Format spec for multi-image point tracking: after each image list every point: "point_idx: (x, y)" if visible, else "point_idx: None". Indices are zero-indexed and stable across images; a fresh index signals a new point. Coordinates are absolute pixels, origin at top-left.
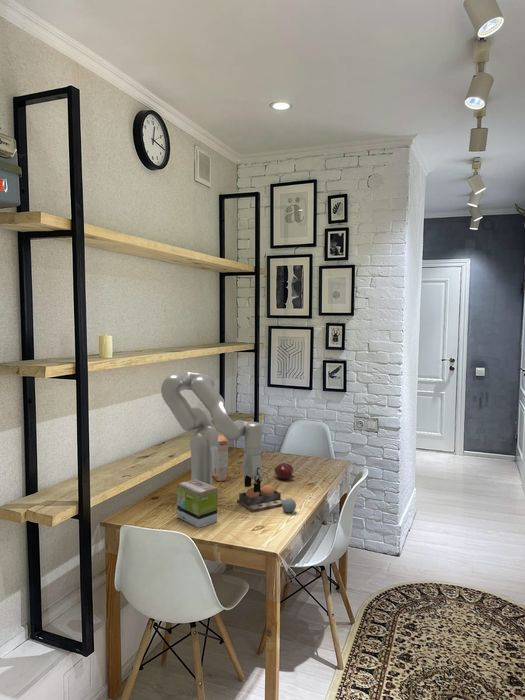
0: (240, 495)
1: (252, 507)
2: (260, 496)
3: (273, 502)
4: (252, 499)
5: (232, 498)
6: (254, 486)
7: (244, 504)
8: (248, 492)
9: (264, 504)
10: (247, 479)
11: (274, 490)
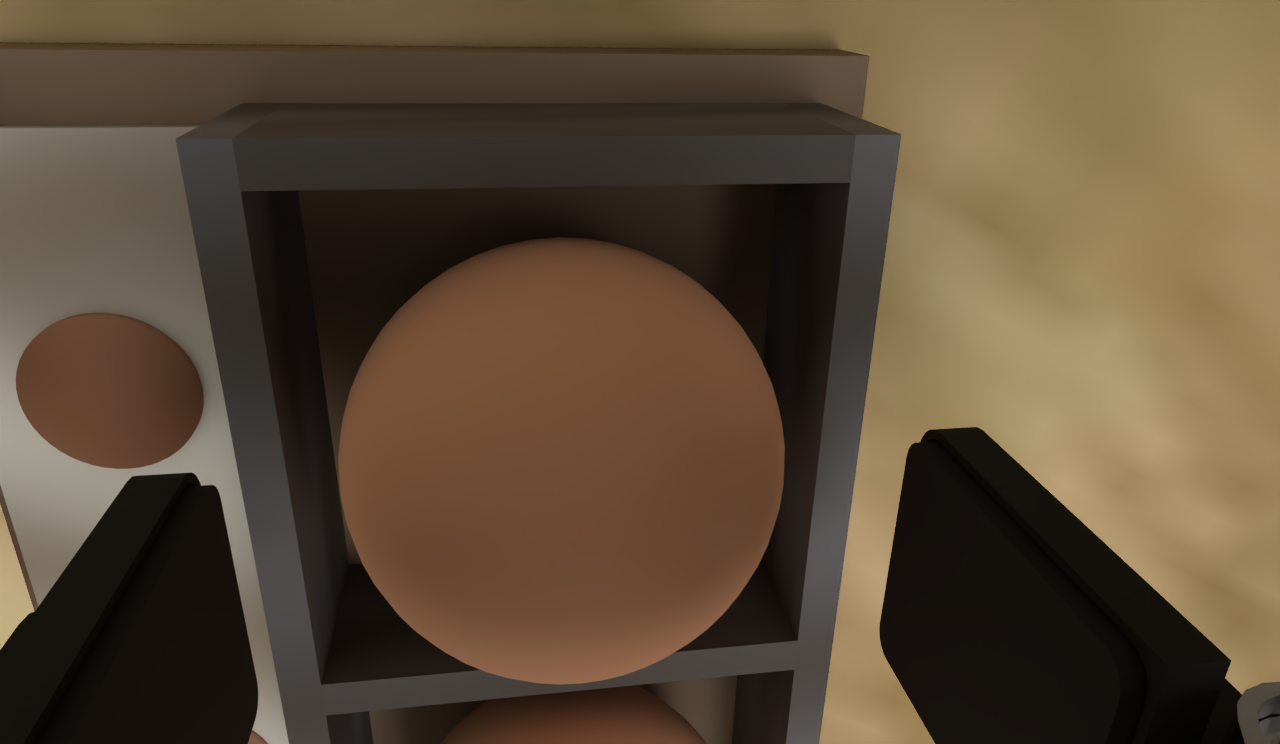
0: (795, 126)
1: (33, 135)
2: None
3: None
4: (217, 292)
5: (1134, 90)
6: (8, 666)
7: (421, 58)
8: (509, 340)
9: None
10: (1069, 731)
11: None
